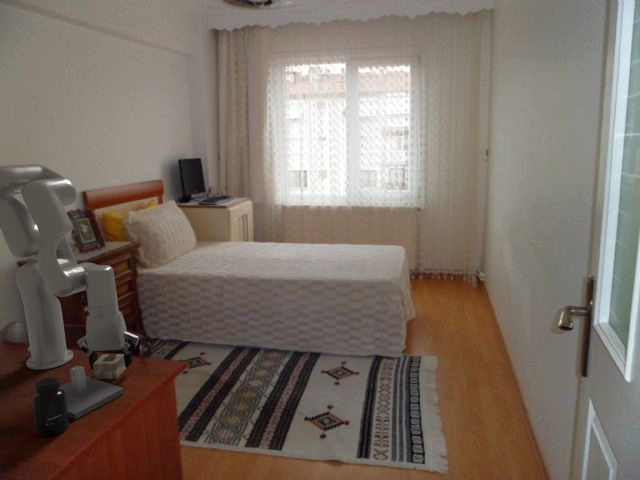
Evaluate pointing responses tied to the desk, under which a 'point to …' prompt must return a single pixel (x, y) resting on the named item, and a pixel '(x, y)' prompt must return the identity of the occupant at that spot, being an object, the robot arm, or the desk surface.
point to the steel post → (78, 380)
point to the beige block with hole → (109, 366)
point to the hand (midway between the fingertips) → (111, 366)
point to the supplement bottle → (50, 408)
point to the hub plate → (90, 397)
